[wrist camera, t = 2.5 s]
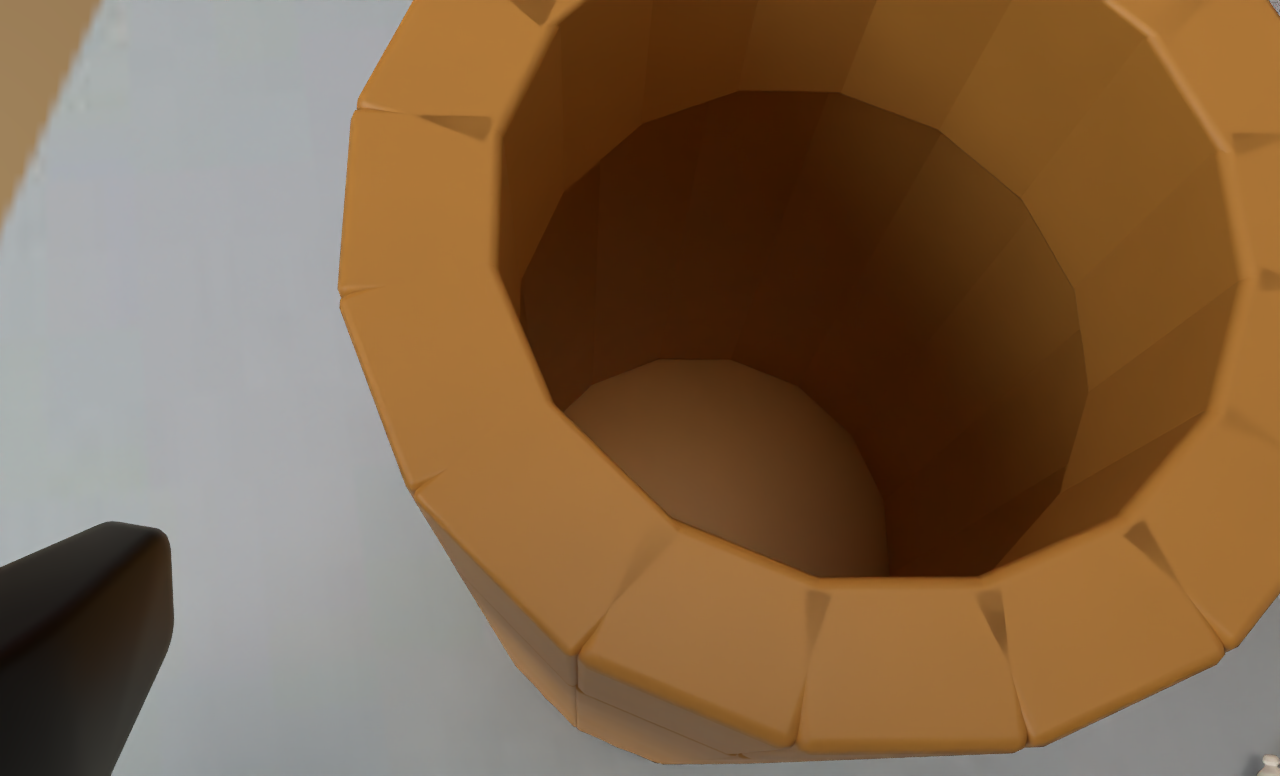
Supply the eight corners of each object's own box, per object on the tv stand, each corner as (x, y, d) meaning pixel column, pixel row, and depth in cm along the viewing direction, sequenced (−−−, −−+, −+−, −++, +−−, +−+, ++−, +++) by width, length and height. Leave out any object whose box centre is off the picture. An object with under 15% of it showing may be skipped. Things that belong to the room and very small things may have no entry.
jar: (823, 834, 18) (1270, 955, 6) (415, 662, 18) (137, 477, 7) (952, 437, 20) (1464, -18, 8) (584, 292, 20) (591, -324, 9)
